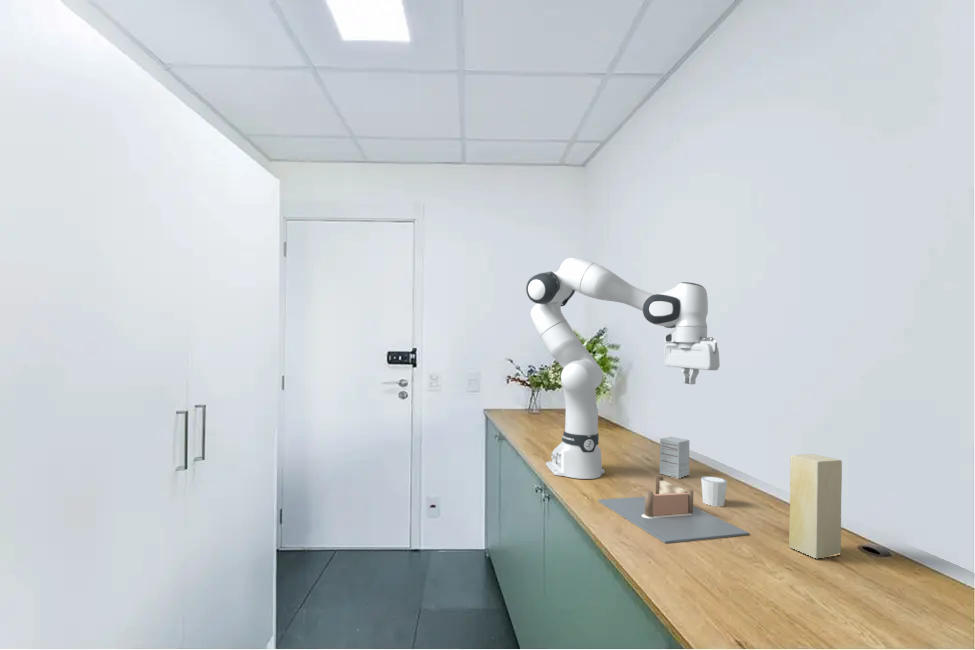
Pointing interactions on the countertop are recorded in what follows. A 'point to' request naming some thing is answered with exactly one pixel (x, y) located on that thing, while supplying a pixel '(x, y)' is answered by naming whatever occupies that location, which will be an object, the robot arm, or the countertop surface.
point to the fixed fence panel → (666, 487)
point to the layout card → (673, 522)
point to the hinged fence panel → (668, 503)
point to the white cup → (713, 490)
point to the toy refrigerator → (815, 505)
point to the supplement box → (674, 457)
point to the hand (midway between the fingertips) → (689, 383)
